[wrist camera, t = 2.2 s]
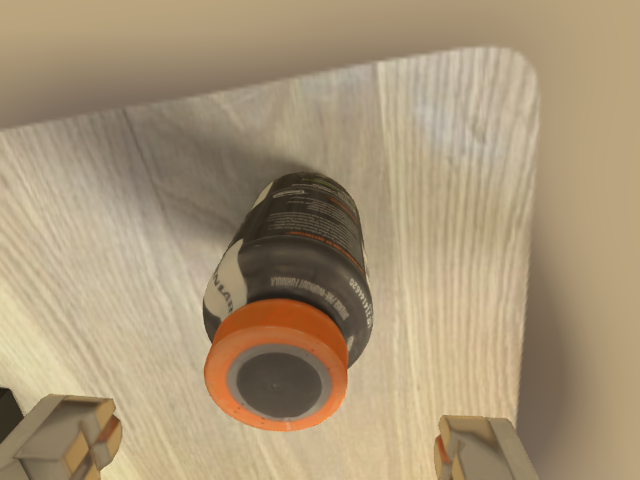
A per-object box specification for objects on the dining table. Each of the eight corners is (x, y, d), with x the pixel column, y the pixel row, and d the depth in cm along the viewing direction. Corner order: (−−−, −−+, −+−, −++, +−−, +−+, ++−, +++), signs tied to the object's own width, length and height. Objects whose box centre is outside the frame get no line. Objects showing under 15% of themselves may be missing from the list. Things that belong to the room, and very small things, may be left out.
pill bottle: (230, 208, 20) (116, 360, 10) (320, 147, 18) (298, 251, 8) (294, 286, 22) (257, 481, 12) (380, 237, 20) (425, 414, 10)
